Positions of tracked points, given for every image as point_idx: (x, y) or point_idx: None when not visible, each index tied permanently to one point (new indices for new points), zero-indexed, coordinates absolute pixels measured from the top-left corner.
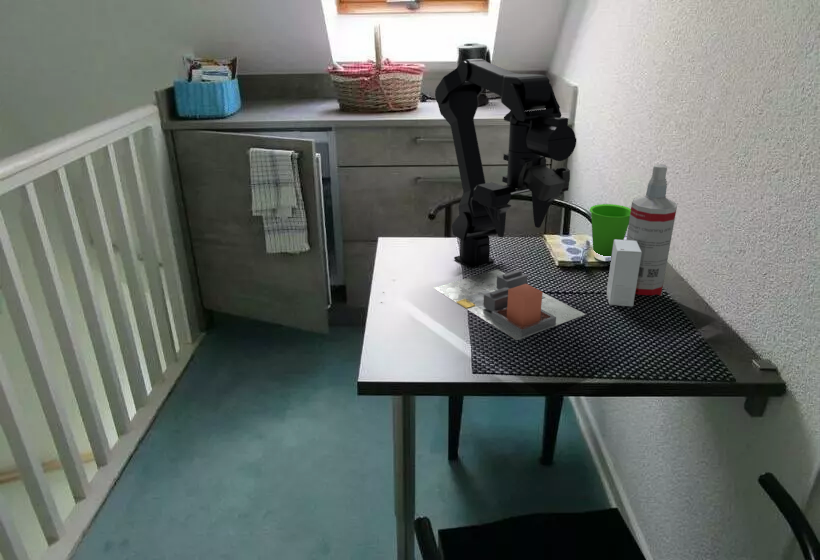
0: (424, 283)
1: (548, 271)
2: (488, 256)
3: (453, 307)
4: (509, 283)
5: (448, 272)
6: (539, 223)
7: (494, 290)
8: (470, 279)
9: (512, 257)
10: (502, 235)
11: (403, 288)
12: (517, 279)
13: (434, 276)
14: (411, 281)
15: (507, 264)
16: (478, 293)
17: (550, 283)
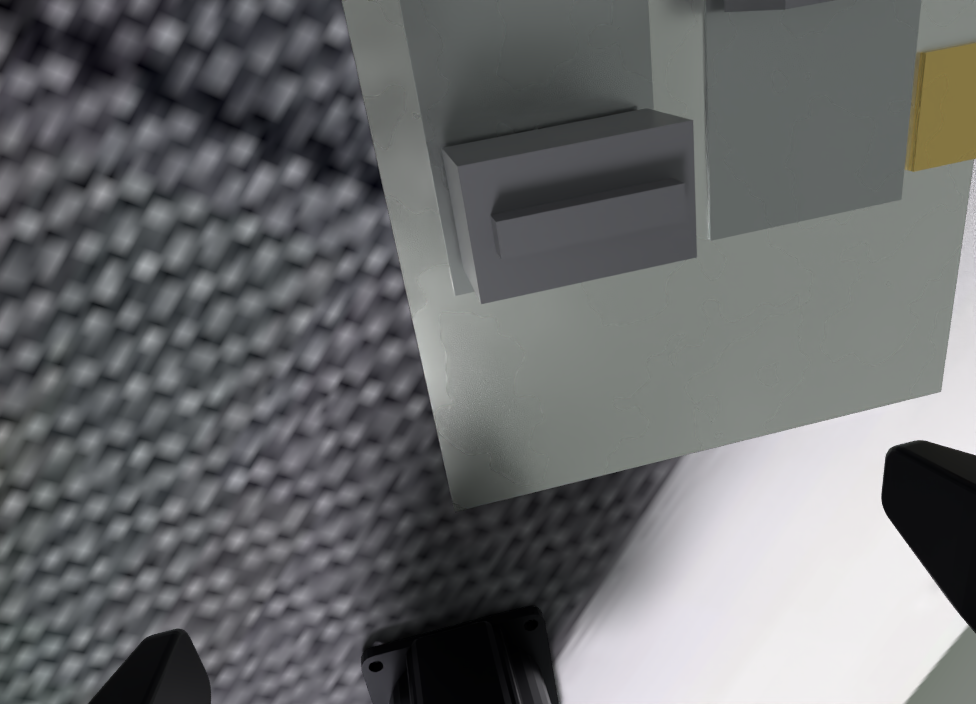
0: (852, 510)
1: (50, 447)
2: (427, 669)
3: None
4: (658, 121)
5: (670, 594)
6: (160, 684)
7: None
8: (695, 428)
9: None
10: (941, 448)
11: None
12: (575, 140)
13: (760, 569)
14: (887, 547)
15: (292, 609)
16: (789, 215)
17: (133, 261)
